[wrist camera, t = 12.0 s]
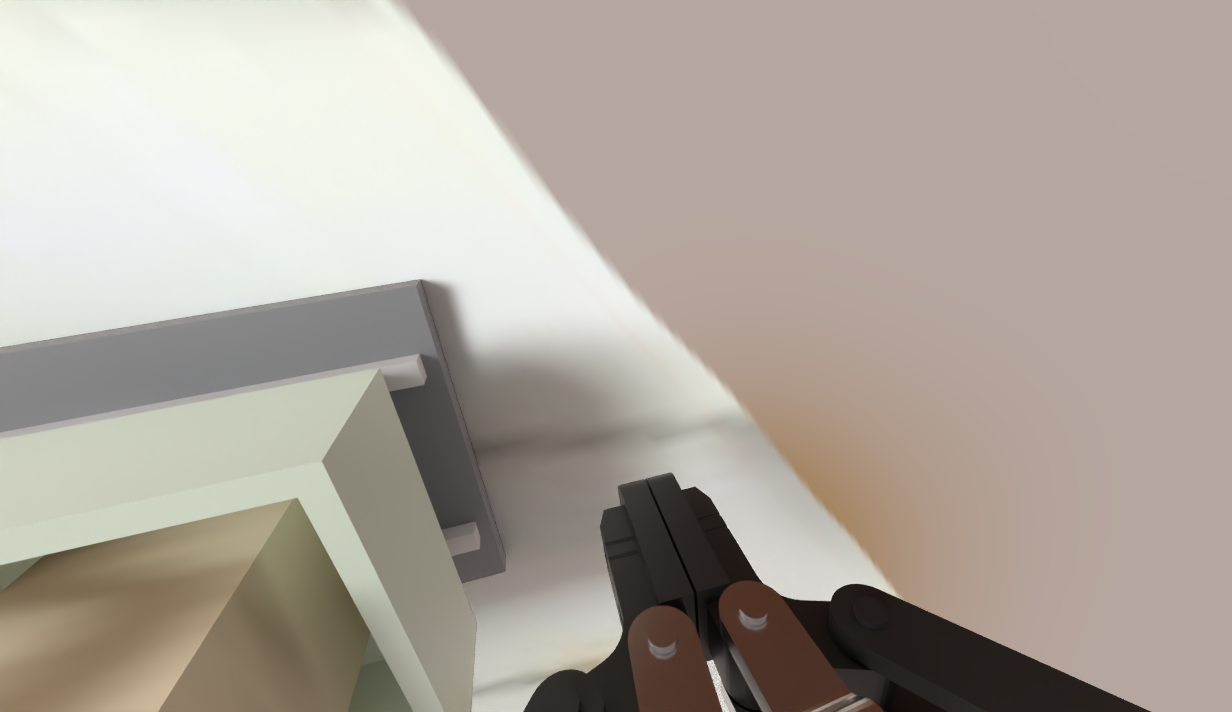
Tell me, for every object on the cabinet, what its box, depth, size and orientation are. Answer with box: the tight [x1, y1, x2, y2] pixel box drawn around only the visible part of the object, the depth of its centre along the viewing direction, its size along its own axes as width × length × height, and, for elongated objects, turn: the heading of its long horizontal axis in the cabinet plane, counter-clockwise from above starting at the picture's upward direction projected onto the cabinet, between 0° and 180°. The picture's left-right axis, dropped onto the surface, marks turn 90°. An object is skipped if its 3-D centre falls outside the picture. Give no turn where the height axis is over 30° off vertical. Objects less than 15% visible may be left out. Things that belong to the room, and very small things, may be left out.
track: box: [0, 279, 505, 583], centre depth 14 cm, size 22×12×1 cm, turn 97°
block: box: [0, 498, 371, 712], centre depth 9 cm, size 5×5×5 cm
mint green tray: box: [0, 368, 477, 712], centre depth 11 cm, size 10×10×6 cm
